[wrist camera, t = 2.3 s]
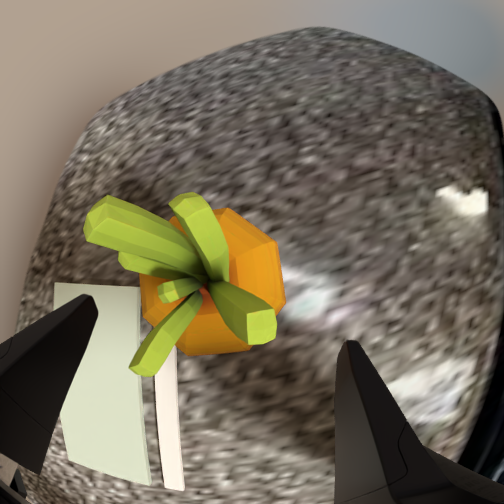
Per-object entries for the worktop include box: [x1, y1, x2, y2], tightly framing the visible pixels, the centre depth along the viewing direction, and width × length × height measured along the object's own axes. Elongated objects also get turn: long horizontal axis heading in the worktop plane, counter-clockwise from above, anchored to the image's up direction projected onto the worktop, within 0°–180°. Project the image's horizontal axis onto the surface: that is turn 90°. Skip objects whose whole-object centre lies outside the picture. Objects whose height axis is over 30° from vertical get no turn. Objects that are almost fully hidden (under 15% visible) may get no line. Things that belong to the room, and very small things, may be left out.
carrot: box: [83, 192, 286, 377], centre depth 12 cm, size 5×5×15 cm
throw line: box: [154, 327, 185, 491], centre depth 18 cm, size 16×2×1 cm, turn 0°
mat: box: [54, 282, 152, 486], centre depth 18 cm, size 16×8×1 cm, turn 0°
